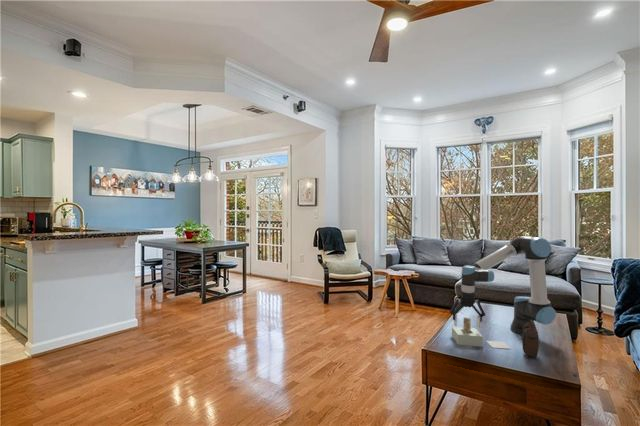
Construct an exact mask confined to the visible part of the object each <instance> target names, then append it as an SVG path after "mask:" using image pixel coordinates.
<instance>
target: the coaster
mask: <svg viewBox="0 0 640 426" xmlns="http://www.w3.org/2000/svg"><path fill="white" fill-rule="evenodd" d="M485 342H486V343H487V344H488V345H489V347H490V348H492V349H499V350H500V349H501V350H511V348H510V347H509V346H508V345H507V344H506V343H505V342H504V341H497V340H496V341H495V340H486V341H485Z"/></svg>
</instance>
